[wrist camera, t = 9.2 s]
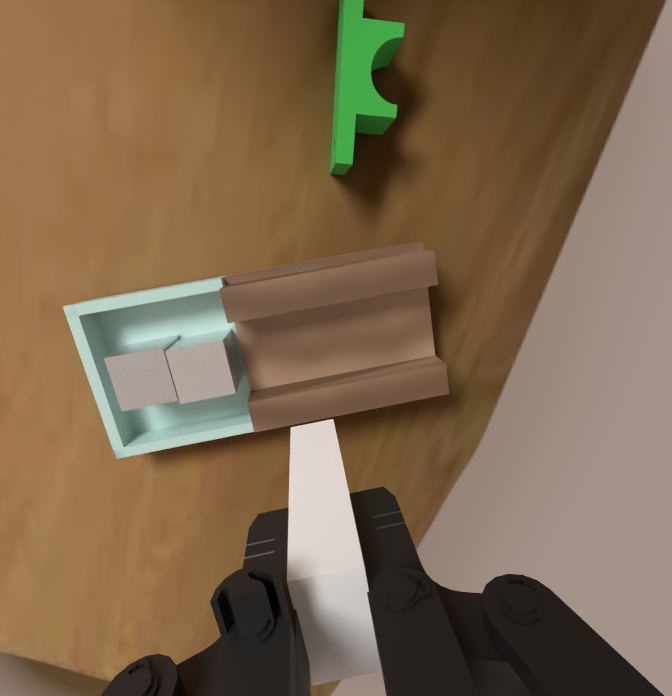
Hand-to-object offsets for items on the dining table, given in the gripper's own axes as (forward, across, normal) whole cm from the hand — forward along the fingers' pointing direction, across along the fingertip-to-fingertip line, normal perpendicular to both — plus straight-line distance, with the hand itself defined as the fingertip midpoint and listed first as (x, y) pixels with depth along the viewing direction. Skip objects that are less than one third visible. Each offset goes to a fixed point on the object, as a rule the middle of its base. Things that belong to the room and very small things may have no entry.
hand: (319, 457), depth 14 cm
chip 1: (+19, -12, 0) cm, 22 cm away
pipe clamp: (+20, +7, +17) cm, 27 cm away
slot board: (+20, +2, 0) cm, 20 cm away
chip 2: (+19, -8, 0) cm, 21 cm away
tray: (+20, -11, 0) cm, 22 cm away
